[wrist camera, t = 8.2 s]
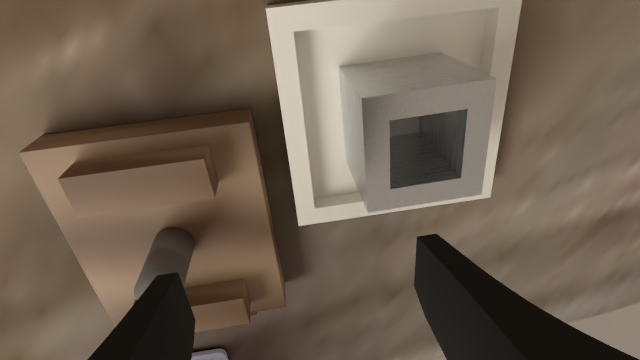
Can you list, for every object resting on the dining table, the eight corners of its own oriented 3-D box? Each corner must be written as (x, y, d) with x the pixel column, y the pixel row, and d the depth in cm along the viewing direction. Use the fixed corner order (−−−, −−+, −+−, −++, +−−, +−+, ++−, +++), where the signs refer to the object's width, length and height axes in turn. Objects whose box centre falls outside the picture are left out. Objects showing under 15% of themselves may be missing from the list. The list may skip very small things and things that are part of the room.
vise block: (286, 294, 25) (291, 370, 20) (135, 319, 24) (103, 403, 20) (250, 107, 19) (245, 155, 14) (42, 135, 18) (-39, 194, 13)
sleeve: (436, 146, 20) (481, 194, 16) (345, 160, 20) (367, 212, 16) (441, 52, 18) (496, 78, 14) (338, 66, 18) (361, 98, 13)
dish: (477, 184, 23) (490, 197, 21) (296, 210, 22) (298, 226, 21) (505, -22, 17) (525, -22, 16) (265, 5, 16) (265, 8, 15)
